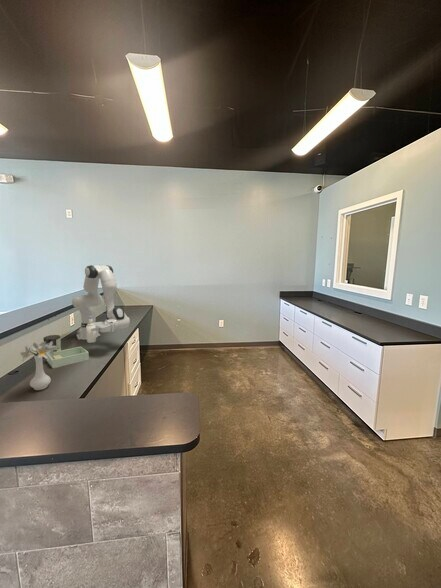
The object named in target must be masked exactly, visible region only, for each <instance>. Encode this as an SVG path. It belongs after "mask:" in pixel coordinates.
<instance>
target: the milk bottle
mask: <svg viewBox="0 0 441 588" xmlns="http://www.w3.org/2000/svg"><path fill="white" fill-rule="evenodd" d="M88 318H89V324H87V326H86V333H87V340H86V342H87V343H89V344H91V343H96V342H97V338H96V331H91V328H96V327H95V325H94V323H93V322H92V318H93V316H89V317H88Z"/></svg>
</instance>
